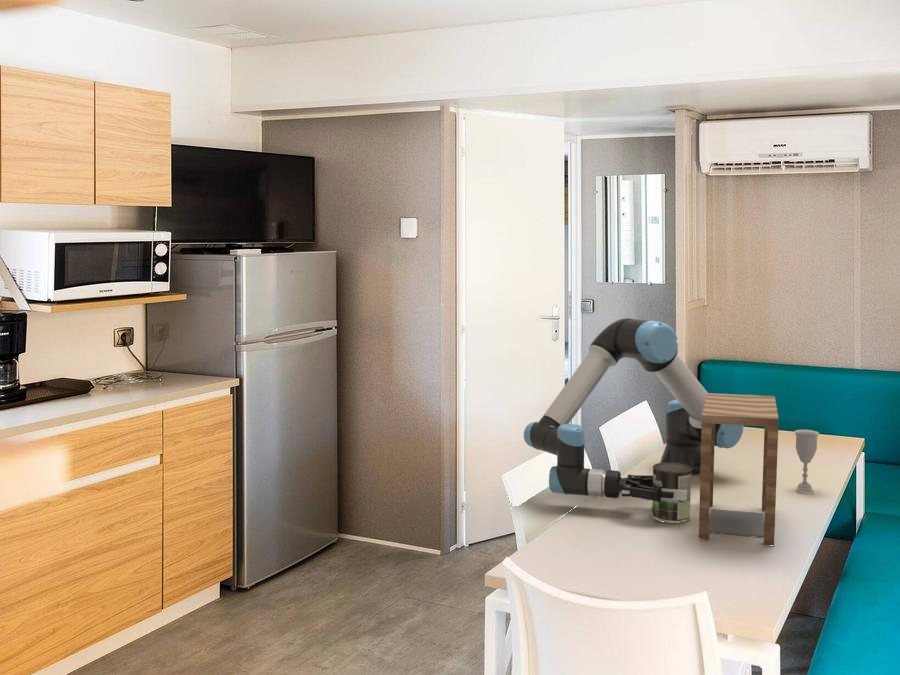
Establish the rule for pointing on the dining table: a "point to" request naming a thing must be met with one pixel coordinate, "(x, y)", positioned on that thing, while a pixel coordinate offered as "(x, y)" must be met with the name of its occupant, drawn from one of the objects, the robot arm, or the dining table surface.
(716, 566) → the dining table surface
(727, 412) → the wooden stool
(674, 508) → the coffee can
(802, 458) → the chalice
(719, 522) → the mat
